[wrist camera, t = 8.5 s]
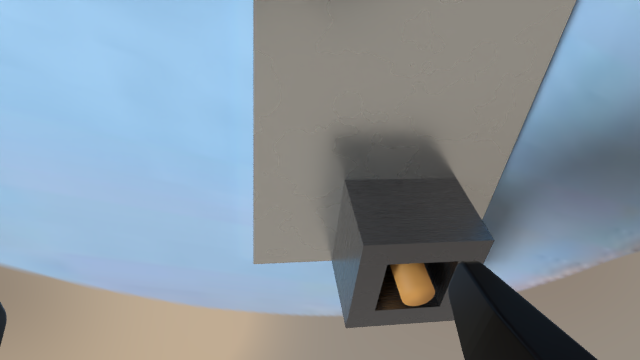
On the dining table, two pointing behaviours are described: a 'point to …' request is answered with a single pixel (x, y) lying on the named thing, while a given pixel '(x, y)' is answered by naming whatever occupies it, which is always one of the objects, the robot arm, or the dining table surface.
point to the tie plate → (385, 103)
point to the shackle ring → (402, 246)
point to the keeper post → (413, 283)
